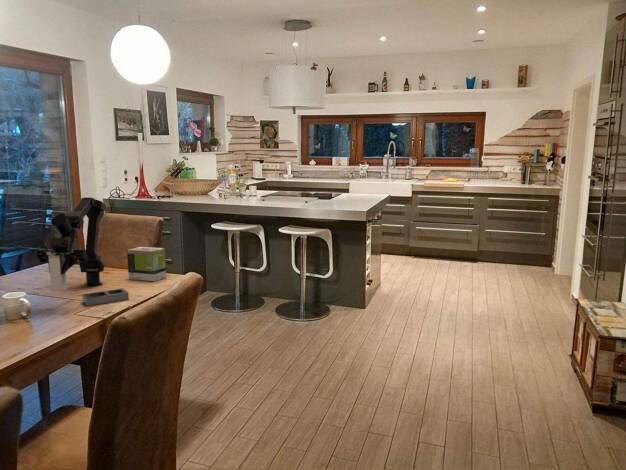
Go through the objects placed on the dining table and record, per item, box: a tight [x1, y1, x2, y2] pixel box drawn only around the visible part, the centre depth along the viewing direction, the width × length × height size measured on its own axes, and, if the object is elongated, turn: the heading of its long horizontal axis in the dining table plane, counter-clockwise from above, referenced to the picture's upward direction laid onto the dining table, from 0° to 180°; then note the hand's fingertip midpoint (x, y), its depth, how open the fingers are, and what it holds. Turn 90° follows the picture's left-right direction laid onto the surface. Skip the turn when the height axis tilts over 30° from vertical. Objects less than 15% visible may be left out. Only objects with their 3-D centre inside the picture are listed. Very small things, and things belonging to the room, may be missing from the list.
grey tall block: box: [48, 254, 68, 292], centre depth 188 cm, size 4×4×14 cm
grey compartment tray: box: [81, 287, 130, 307], centre depth 198 cm, size 8×16×3 cm, turn 127°
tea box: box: [126, 246, 167, 282], centre depth 234 cm, size 15×10×15 cm
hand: (56, 274), depth 187 cm, fingers closed on grey tall block, 4 cm apart
